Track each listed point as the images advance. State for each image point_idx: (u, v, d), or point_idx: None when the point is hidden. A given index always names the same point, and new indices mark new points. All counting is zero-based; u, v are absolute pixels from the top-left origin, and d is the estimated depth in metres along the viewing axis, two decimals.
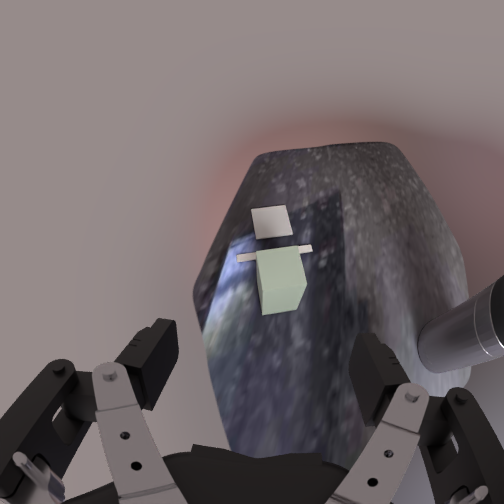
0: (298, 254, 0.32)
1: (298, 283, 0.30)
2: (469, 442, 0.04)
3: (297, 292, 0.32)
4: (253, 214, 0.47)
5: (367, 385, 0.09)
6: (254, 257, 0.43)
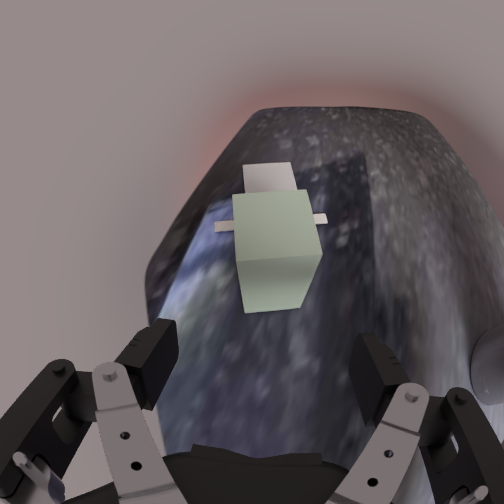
0: (307, 203, 0.17)
1: (305, 251, 0.16)
2: (469, 442, 0.04)
3: (304, 272, 0.18)
4: (245, 171, 0.32)
5: (367, 385, 0.09)
6: None
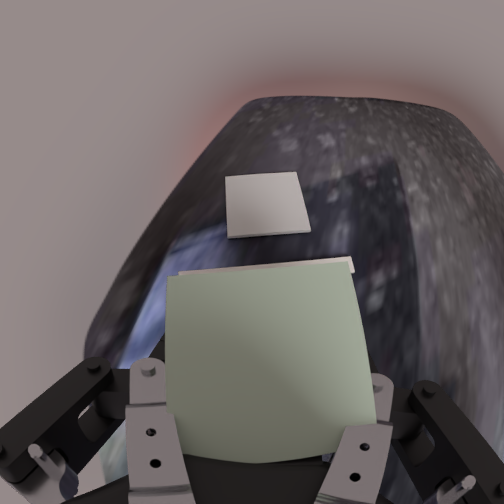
0: (352, 302, 0.07)
1: None
2: (445, 435, 0.05)
3: None
4: (228, 186, 0.22)
5: None
6: None
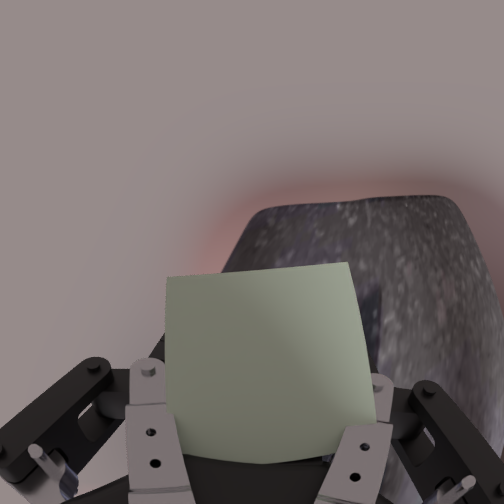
0: (352, 303, 0.07)
1: None
2: (446, 435, 0.05)
3: None
4: None
5: None
6: None
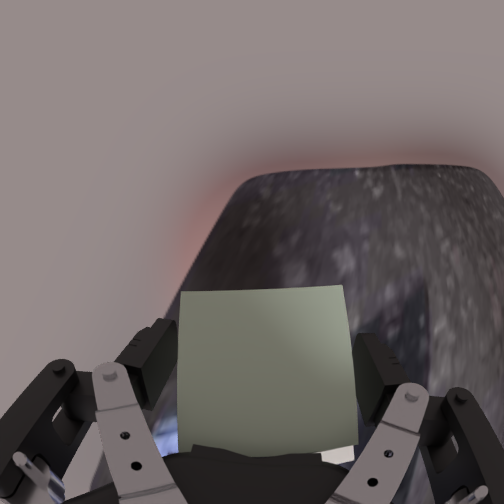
0: (343, 322, 0.08)
1: (325, 442, 0.06)
2: (469, 442, 0.04)
3: None
4: None
5: (367, 385, 0.09)
6: None
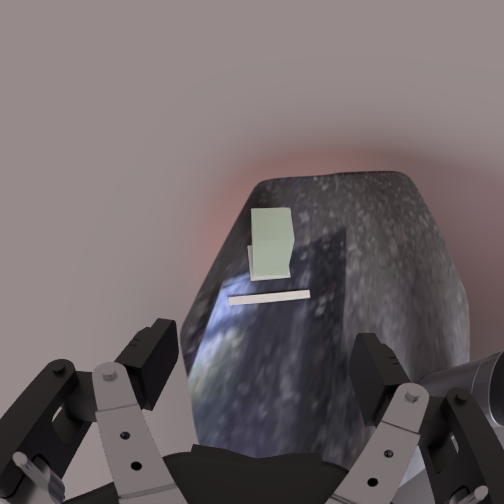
0: (289, 215, 0.35)
1: (286, 238, 0.33)
2: (469, 442, 0.04)
3: (286, 250, 0.35)
4: (249, 251, 0.43)
5: (367, 385, 0.09)
6: (246, 301, 0.39)
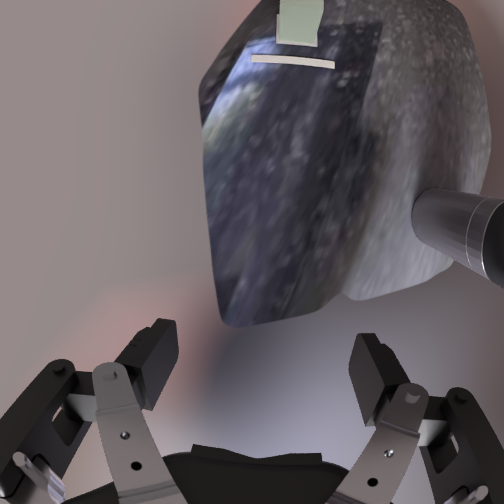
0: None
1: (315, 7, 0.20)
2: (469, 442, 0.04)
3: (314, 18, 0.23)
4: (278, 19, 0.29)
5: (367, 385, 0.09)
6: (269, 60, 0.32)
